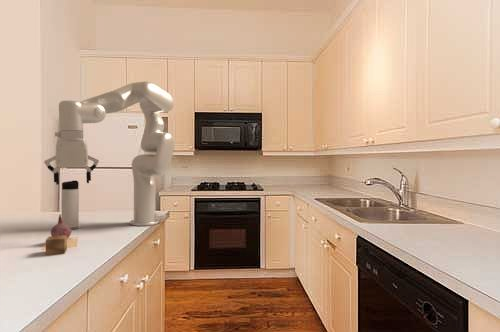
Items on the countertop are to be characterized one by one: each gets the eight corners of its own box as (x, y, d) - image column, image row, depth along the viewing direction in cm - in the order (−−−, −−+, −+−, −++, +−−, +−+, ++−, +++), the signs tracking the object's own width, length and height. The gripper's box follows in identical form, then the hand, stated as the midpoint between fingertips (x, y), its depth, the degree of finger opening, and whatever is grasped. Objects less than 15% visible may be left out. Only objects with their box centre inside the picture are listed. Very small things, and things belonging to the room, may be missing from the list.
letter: (77, 237, 125) (77, 237, 125) (77, 247, 111) (77, 246, 111) (46, 240, 120) (46, 239, 120) (41, 250, 107) (41, 249, 107)
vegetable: (48, 242, 116) (48, 213, 115) (67, 239, 120) (67, 212, 120) (54, 246, 111) (54, 216, 111) (73, 243, 116) (74, 214, 116)
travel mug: (82, 227, 144) (82, 180, 143) (72, 230, 137) (72, 181, 137) (68, 226, 144) (68, 180, 144) (58, 229, 138) (58, 181, 137)
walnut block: (66, 250, 108) (66, 235, 107) (64, 255, 103) (64, 238, 103) (48, 252, 106) (48, 236, 106) (45, 256, 101) (45, 240, 101)
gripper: (42, 135, 113) (44, 185, 114) (98, 136, 121) (99, 183, 122) (44, 135, 120) (45, 183, 121) (97, 136, 127) (98, 181, 128)
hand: (73, 183), depth 121 cm, fingers open, 9 cm apart
